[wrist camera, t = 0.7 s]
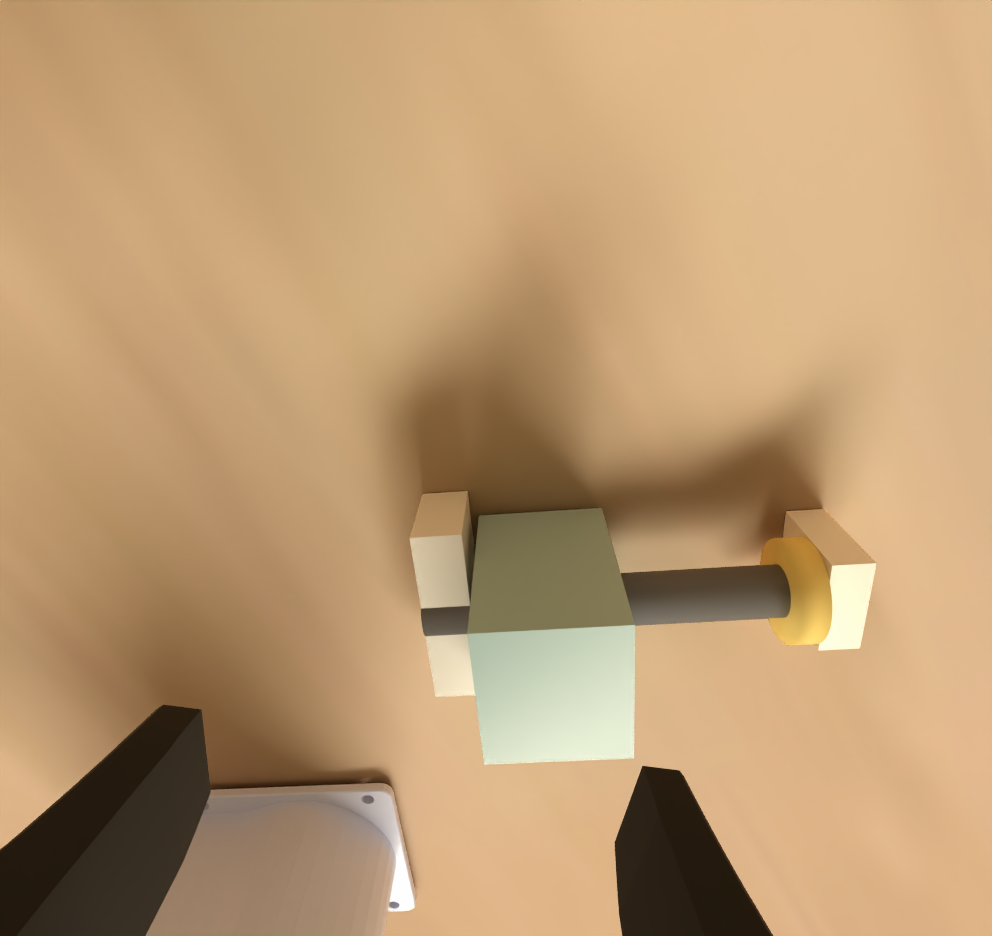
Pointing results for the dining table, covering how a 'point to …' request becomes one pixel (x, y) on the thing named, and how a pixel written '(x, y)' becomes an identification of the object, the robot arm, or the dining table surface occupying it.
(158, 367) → the dining table surface
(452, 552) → the cream rectangular block
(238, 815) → the robot arm
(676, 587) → the rod
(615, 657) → the sage green block
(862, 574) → the cream block
